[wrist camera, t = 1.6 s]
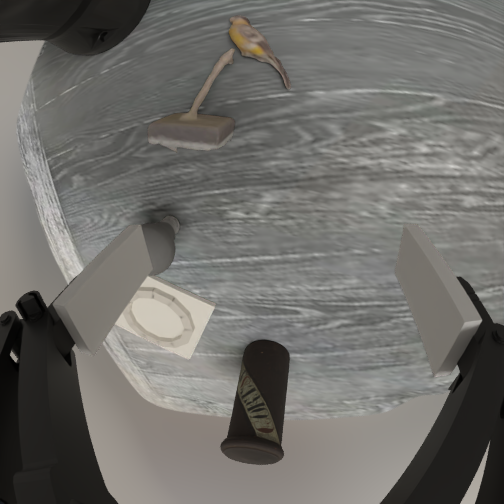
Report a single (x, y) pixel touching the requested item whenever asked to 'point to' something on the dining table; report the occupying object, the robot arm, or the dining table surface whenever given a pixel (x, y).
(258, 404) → the container
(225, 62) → the decorative sculpture
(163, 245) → the light bulb
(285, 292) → the dining table surface
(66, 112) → the dining table surface
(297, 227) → the dining table surface
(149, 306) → the socket
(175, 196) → the dining table surface
